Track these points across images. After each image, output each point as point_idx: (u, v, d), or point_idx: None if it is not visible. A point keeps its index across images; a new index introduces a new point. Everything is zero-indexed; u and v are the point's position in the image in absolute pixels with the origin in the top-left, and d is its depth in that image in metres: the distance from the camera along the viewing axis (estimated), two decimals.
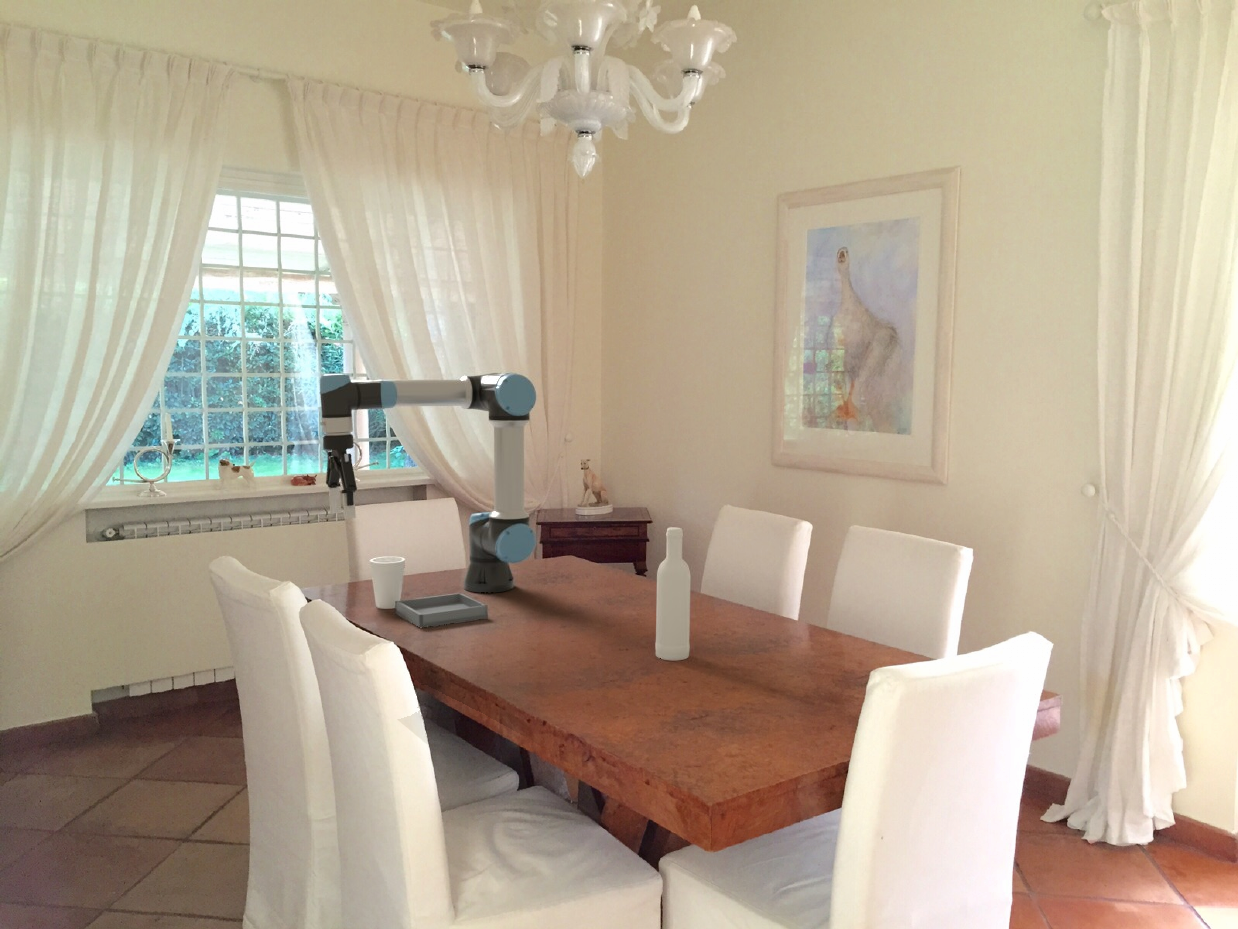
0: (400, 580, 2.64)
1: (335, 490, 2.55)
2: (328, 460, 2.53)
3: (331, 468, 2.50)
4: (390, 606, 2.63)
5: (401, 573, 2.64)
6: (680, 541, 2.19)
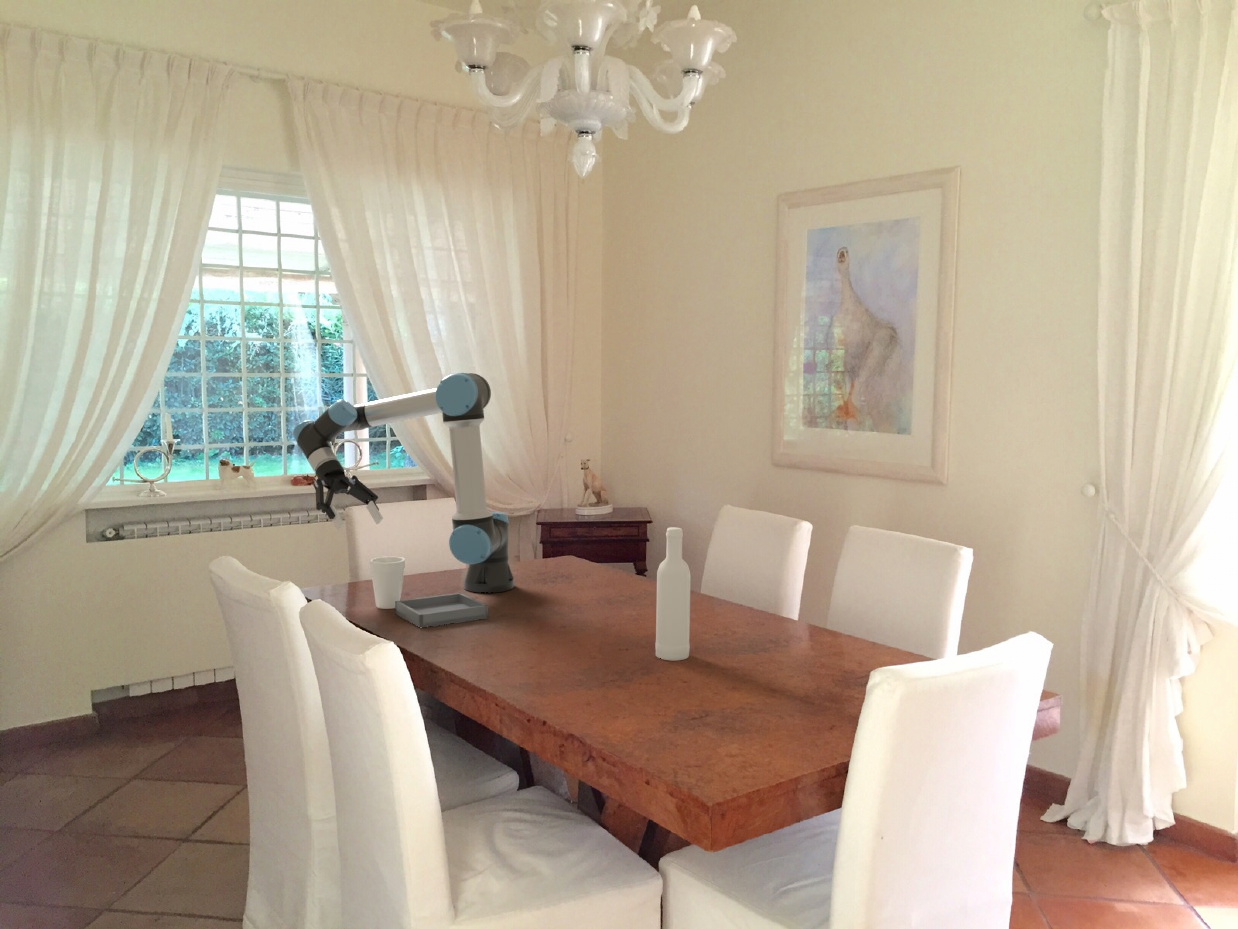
0: (400, 580, 2.64)
1: (369, 505, 2.77)
2: None
3: (346, 493, 2.77)
4: (390, 606, 2.63)
5: (401, 573, 2.64)
6: (680, 541, 2.19)
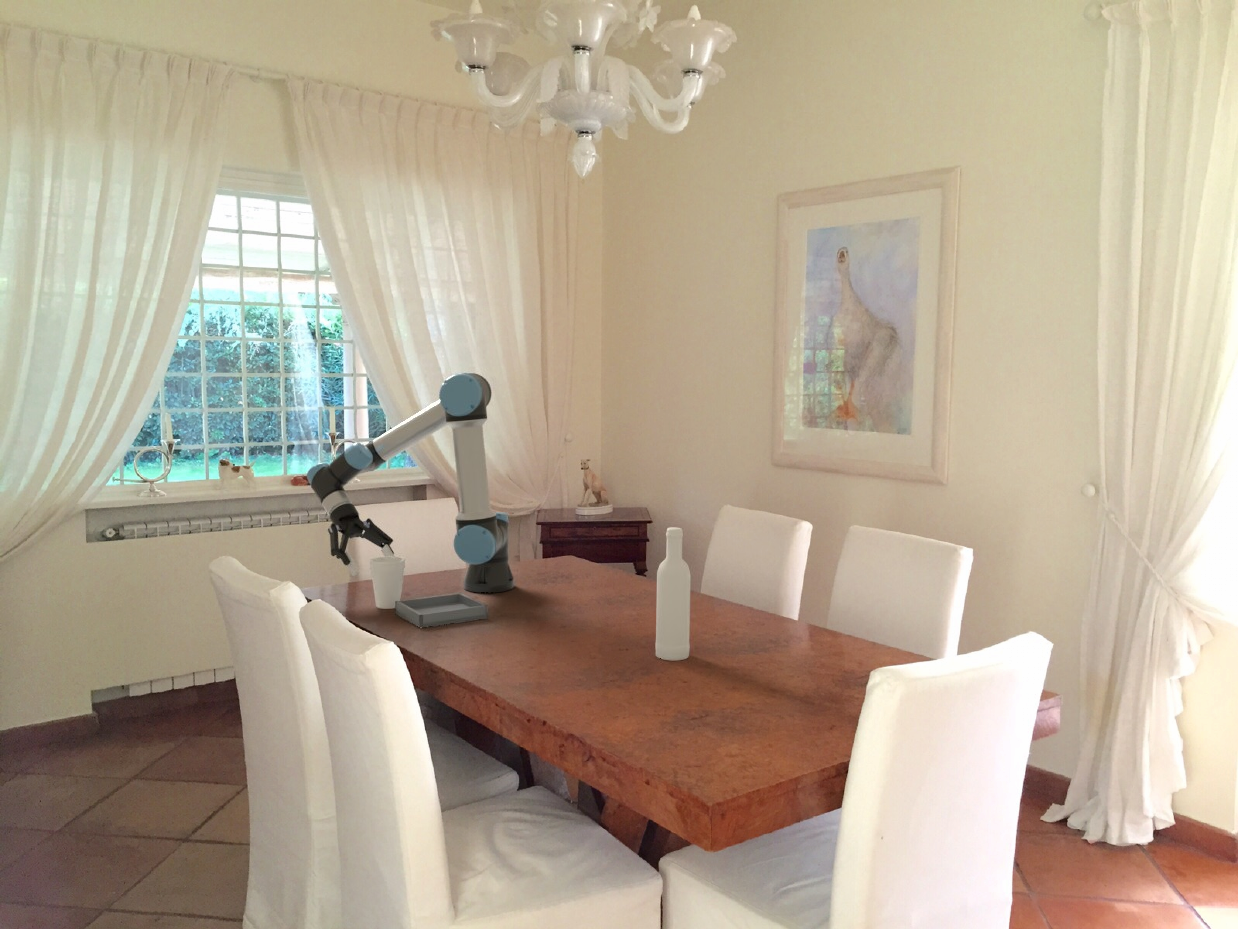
0: (400, 580, 2.64)
1: (384, 549, 2.74)
2: None
3: (361, 537, 2.74)
4: (390, 606, 2.63)
5: (401, 573, 2.64)
6: (680, 541, 2.19)
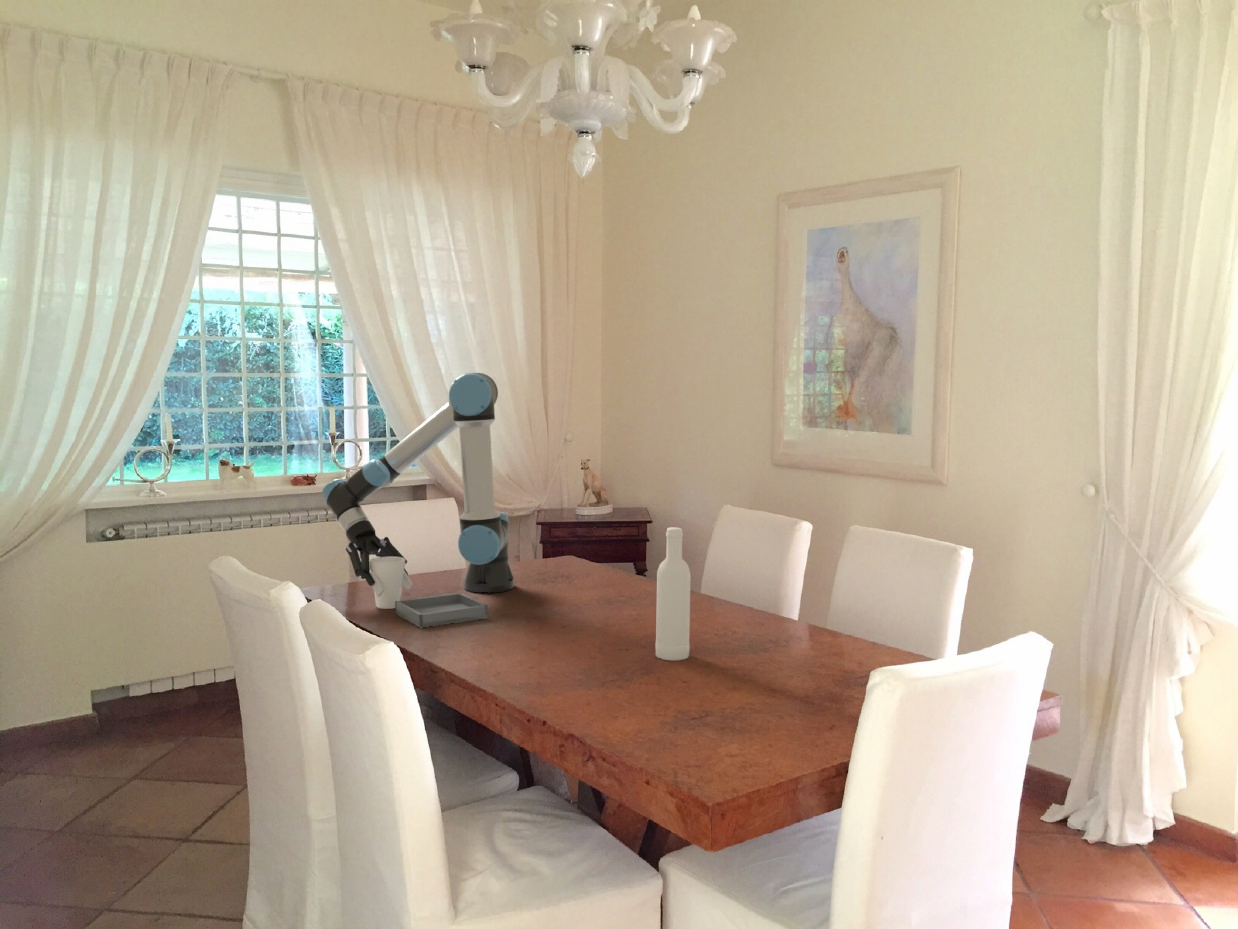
0: (400, 580, 2.64)
1: None
2: (384, 548, 2.74)
3: (376, 555, 2.71)
4: (390, 606, 2.63)
5: (401, 573, 2.64)
6: (680, 541, 2.19)
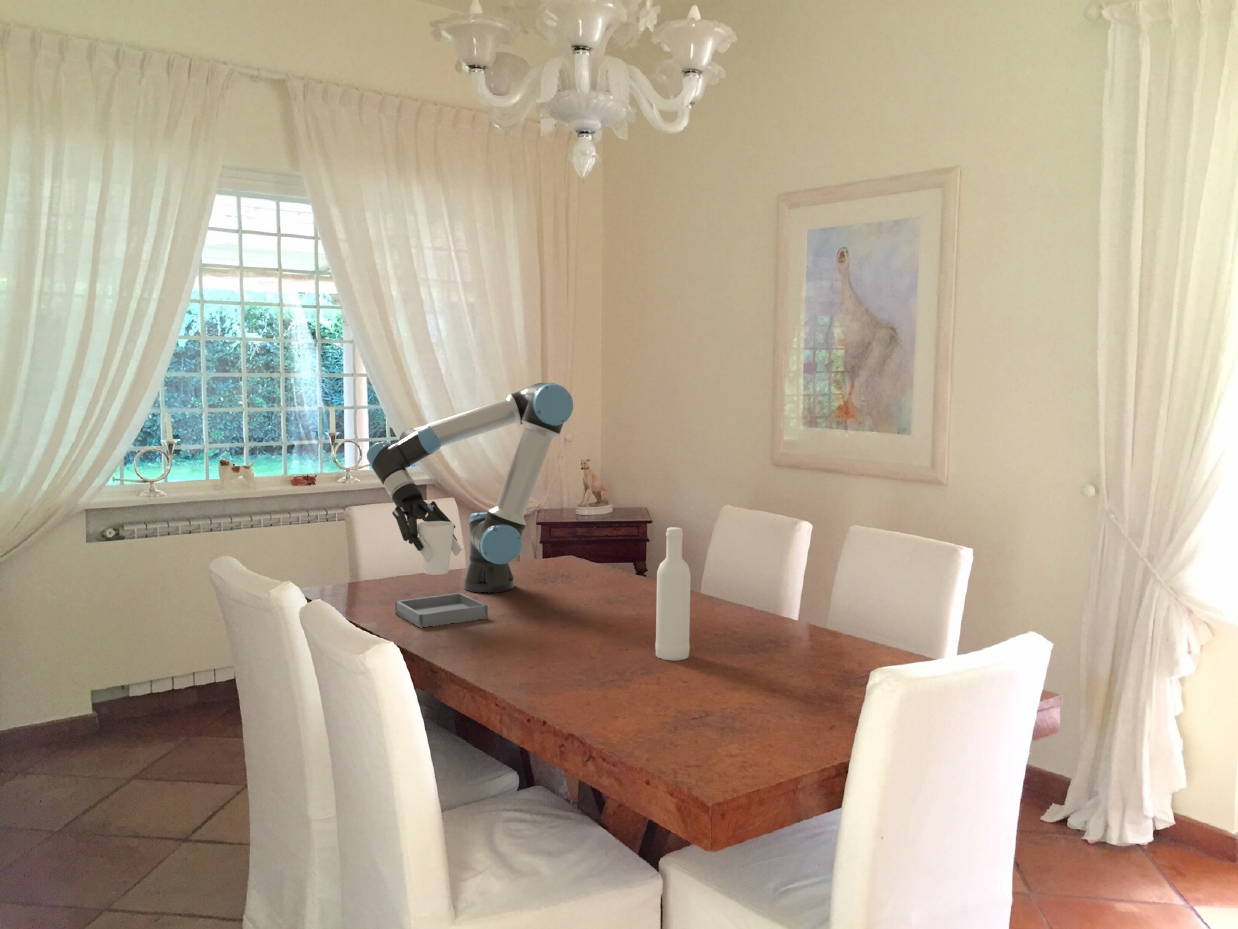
0: (449, 545, 2.53)
1: None
2: None
3: (424, 519, 2.59)
4: (439, 572, 2.52)
5: (450, 538, 2.53)
6: (680, 541, 2.19)
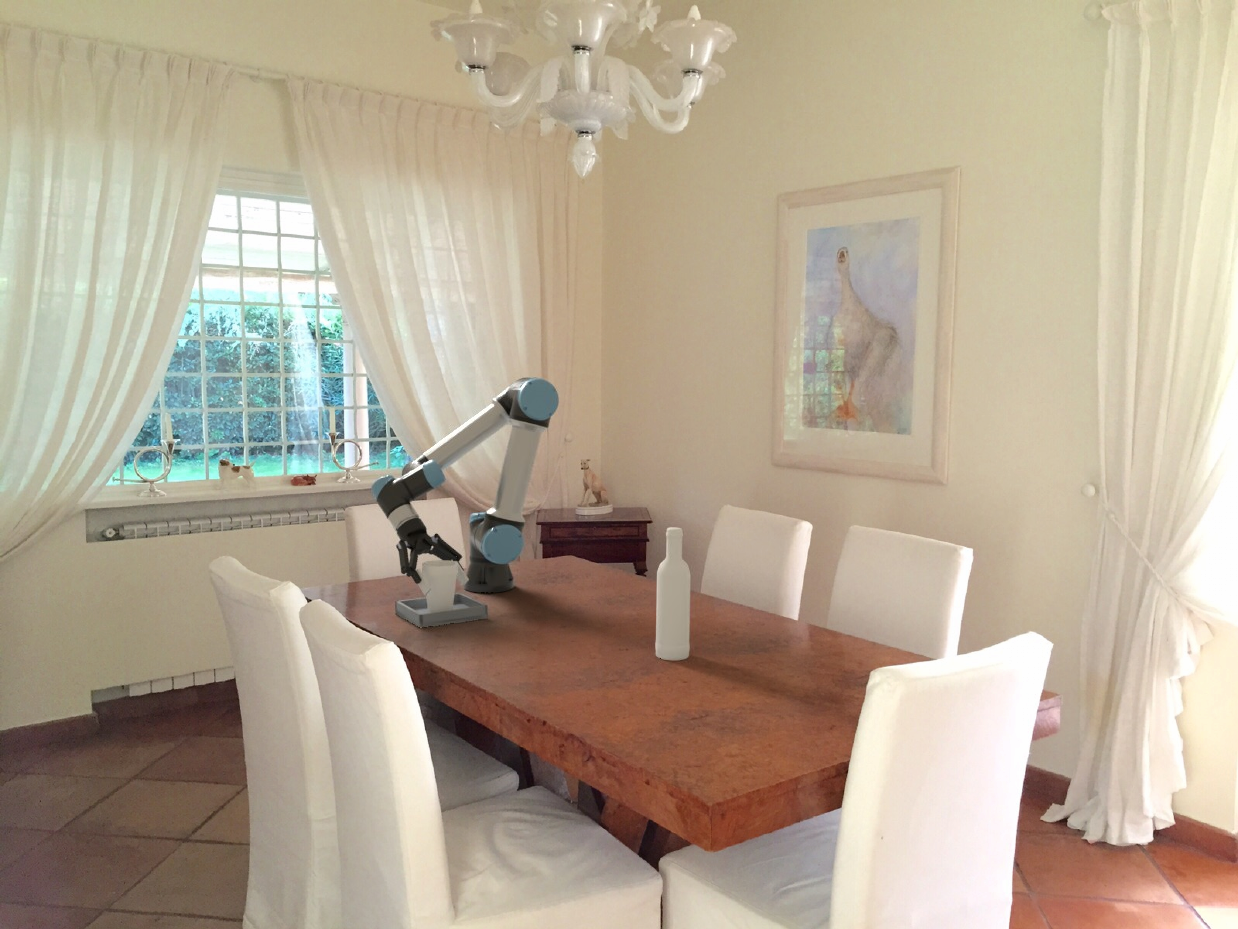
0: (453, 584, 2.54)
1: None
2: None
3: (429, 553, 2.61)
4: None
5: (454, 577, 2.53)
6: (680, 541, 2.19)
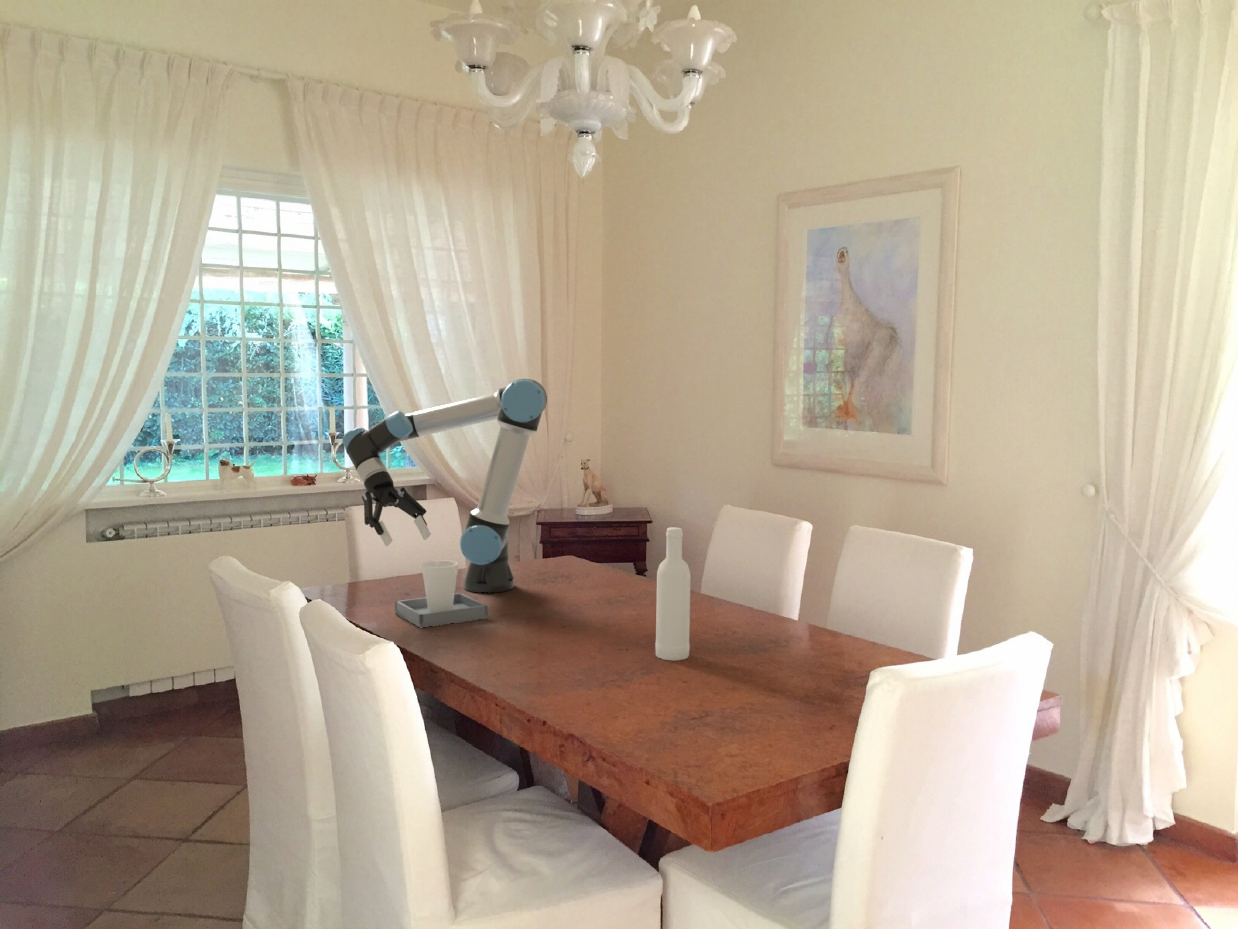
0: (453, 585, 2.53)
1: (417, 519, 2.69)
2: None
3: (394, 506, 2.69)
4: None
5: (454, 578, 2.53)
6: (680, 541, 2.19)
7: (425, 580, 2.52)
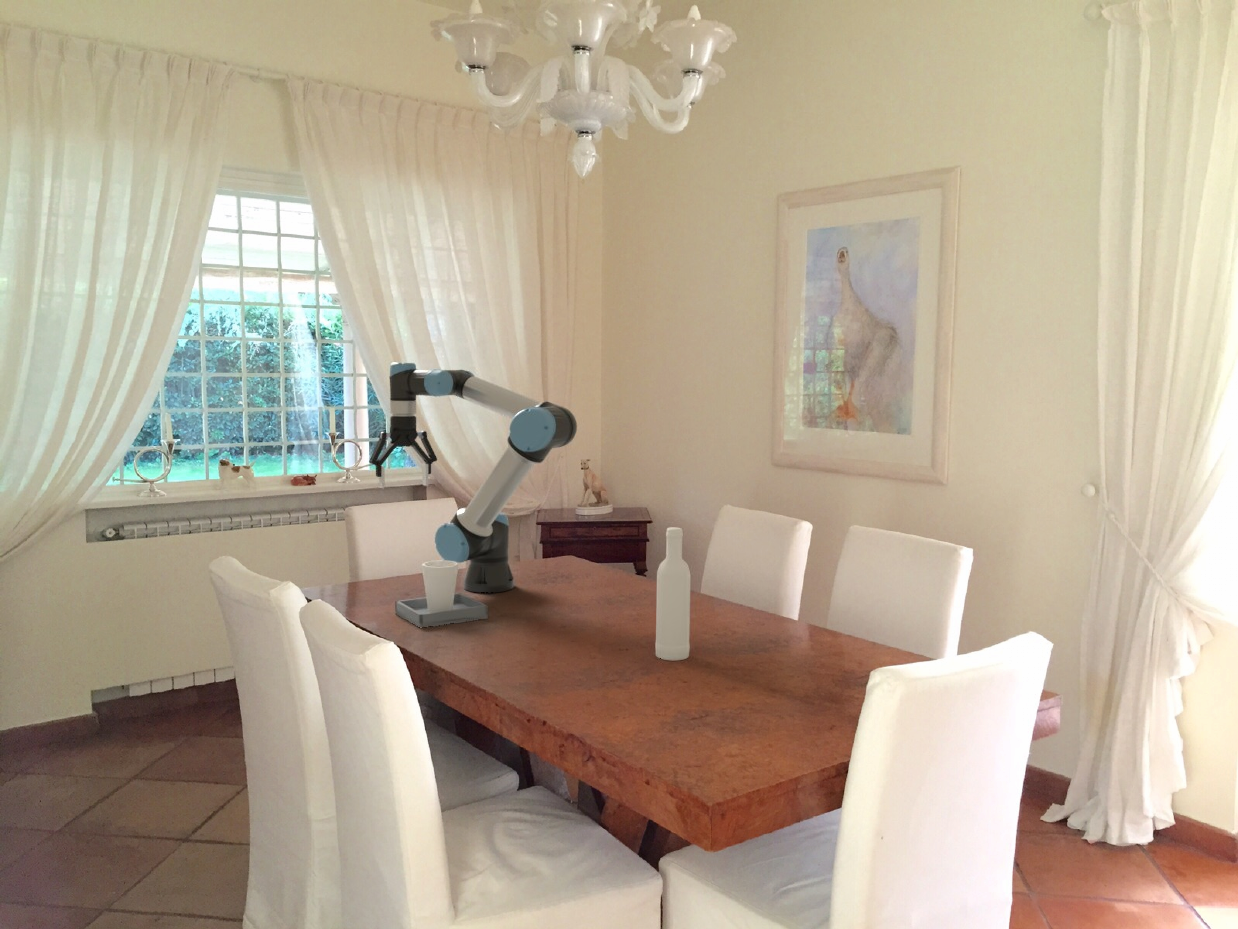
0: (453, 585, 2.53)
1: (424, 466, 2.87)
2: None
3: (410, 445, 2.86)
4: None
5: (454, 578, 2.53)
6: (680, 541, 2.19)
7: (425, 580, 2.52)
